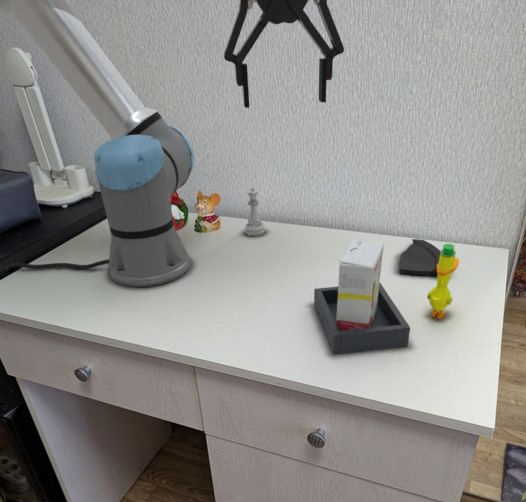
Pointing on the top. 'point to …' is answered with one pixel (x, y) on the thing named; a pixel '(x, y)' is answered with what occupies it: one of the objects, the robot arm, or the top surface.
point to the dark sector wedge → (420, 259)
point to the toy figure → (443, 281)
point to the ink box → (358, 285)
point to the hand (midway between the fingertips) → (284, 104)
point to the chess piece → (254, 217)
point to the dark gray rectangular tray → (375, 338)
